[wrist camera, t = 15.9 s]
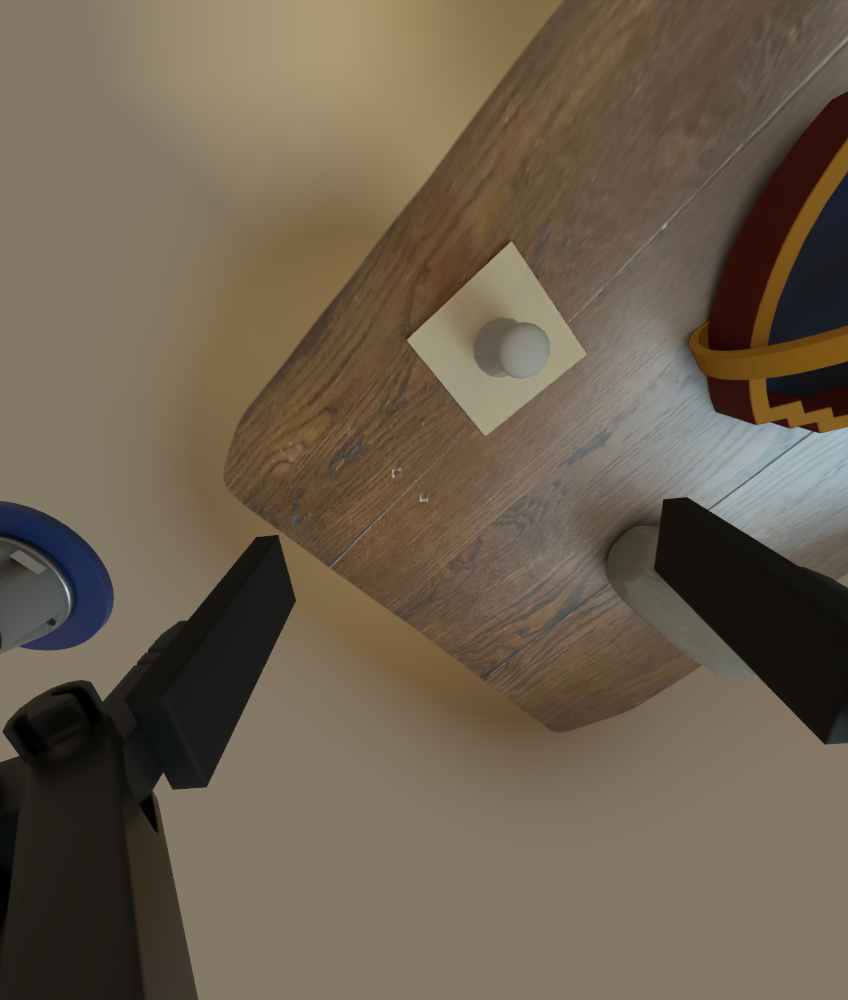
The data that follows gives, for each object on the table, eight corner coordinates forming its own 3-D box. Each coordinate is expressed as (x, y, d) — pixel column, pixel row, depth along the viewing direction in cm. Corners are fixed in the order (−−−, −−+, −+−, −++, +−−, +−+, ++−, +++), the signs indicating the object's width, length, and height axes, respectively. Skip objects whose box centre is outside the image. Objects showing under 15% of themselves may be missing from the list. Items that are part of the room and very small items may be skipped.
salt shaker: (494, 386, 45) (520, 405, 33) (459, 347, 43) (473, 352, 31) (535, 347, 43) (578, 352, 31) (500, 305, 42) (532, 293, 30)
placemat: (484, 435, 48) (485, 436, 47) (406, 340, 43) (406, 340, 43) (585, 354, 44) (586, 354, 44) (510, 241, 40) (511, 240, 40)
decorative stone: (645, 498, 51) (729, 560, 37) (734, 563, 54) (841, 641, 40) (580, 566, 54) (634, 645, 41) (668, 622, 58) (745, 712, 44)
